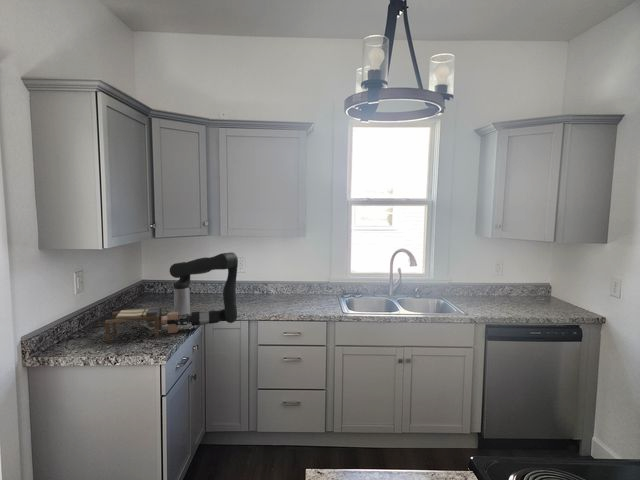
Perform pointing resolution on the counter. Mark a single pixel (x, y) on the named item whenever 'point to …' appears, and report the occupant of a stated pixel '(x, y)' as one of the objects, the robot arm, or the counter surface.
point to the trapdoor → (139, 313)
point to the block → (172, 327)
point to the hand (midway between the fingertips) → (167, 320)
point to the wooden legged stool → (107, 326)
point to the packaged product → (151, 323)
